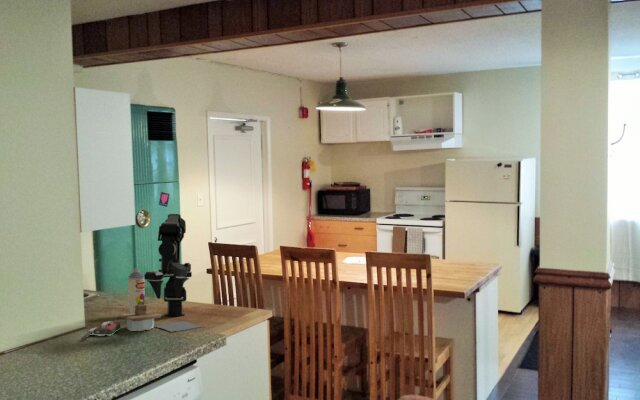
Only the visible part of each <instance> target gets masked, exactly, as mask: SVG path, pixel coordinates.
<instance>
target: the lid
mask: <svg viewBox="0 0 640 400" xmlns="http://www.w3.org/2000/svg"><path fill="white" fill-rule="evenodd" d="M119 317H120V318H123V319H126V320H127V319H128V320H131V321H134V322H135V321H141V320H148V319H154V320H155V319H159V318H162V314H160V313H157V312H153V311H149V310H147V305H146V304H144V305H143V304H141V305H135V312H132V313H120V314H119Z"/></svg>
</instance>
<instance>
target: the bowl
mask: <svg viewBox="0 0 640 400" xmlns="http://www.w3.org/2000/svg"><path fill="white" fill-rule="evenodd" d="M154 326H155V318H154V319H148V320H141V321H135V322H134V321H131V320H128V319H126V329H130V330H143V329H151V328H153V329H154V328H155V327H154Z"/></svg>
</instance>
